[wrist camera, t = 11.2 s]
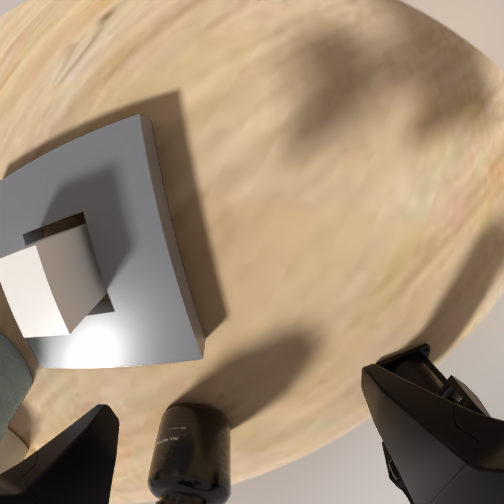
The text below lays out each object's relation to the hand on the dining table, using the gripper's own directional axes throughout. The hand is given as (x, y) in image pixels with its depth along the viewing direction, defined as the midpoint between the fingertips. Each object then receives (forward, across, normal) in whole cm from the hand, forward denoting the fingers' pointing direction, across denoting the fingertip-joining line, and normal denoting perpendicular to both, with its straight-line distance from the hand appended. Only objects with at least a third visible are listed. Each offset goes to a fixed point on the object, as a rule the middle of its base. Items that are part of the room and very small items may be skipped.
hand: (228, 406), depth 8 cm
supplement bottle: (+12, +7, +14) cm, 20 cm away
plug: (+11, +11, -4) cm, 16 cm away
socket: (+11, +11, -4) cm, 16 cm away
